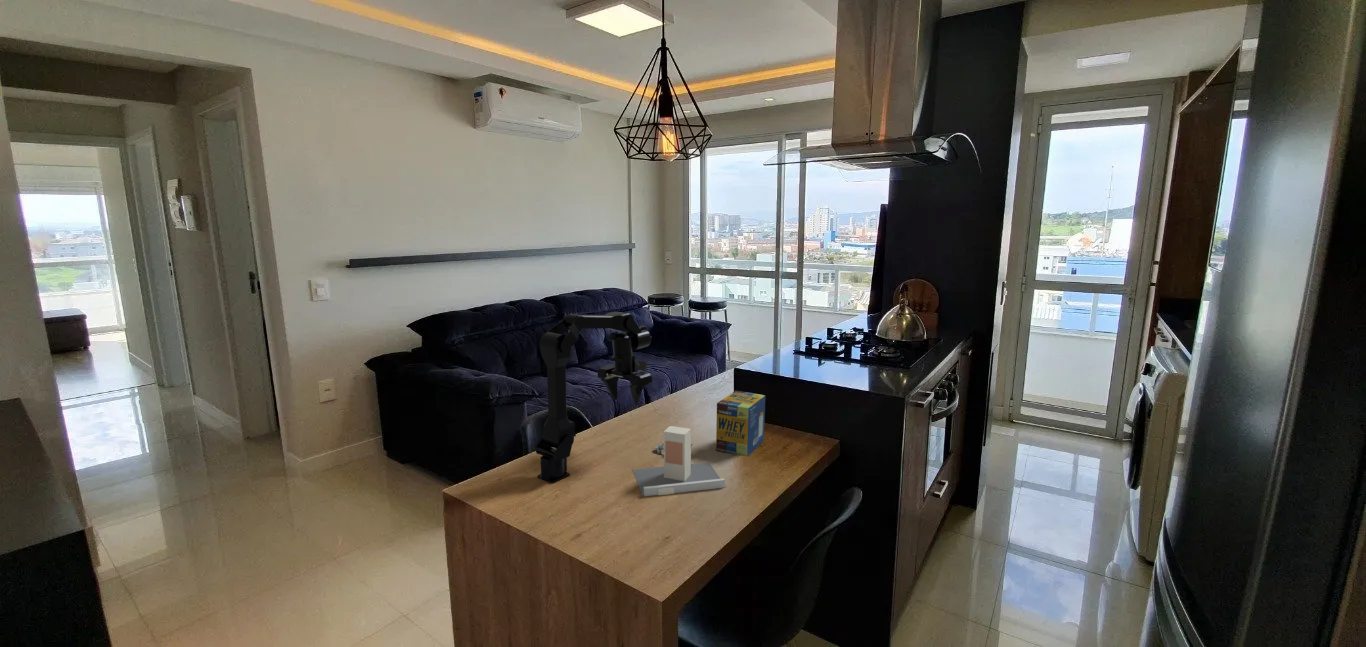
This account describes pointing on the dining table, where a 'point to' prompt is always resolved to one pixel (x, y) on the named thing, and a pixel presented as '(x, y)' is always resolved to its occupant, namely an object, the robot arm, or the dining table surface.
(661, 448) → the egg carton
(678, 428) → the tea box
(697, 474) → the shelf board
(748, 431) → the protein box
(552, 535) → the dining table surface
